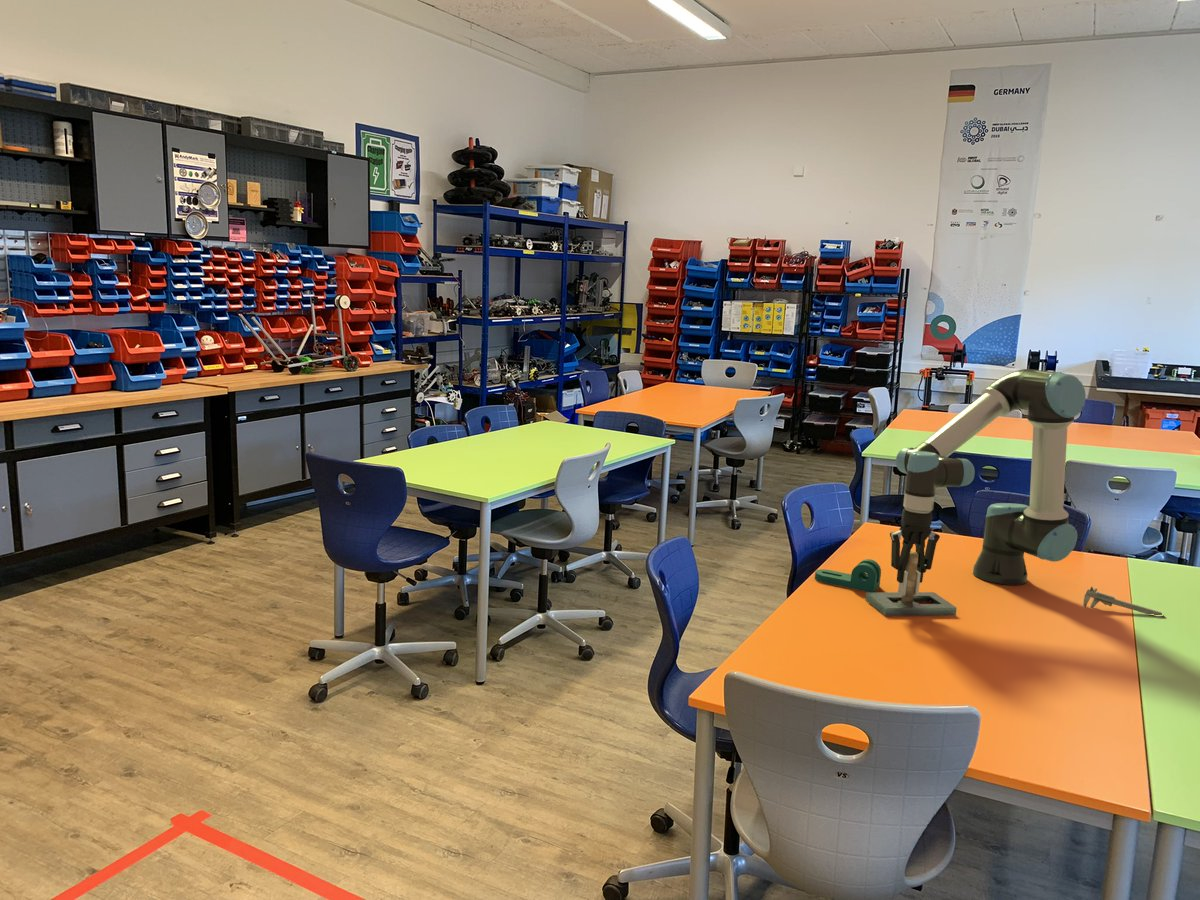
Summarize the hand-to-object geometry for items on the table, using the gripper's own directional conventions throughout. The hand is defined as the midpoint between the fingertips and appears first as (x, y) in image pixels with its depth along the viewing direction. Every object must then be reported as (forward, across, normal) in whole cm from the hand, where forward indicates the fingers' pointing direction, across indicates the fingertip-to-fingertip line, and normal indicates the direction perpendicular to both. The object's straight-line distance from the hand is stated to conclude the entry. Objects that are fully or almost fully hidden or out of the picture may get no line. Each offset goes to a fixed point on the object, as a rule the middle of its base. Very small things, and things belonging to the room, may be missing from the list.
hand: (908, 593), depth 237 cm
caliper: (+4, -62, +4) cm, 62 cm away
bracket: (+4, +9, -20) cm, 22 cm away
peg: (+4, 0, 0) cm, 4 cm away
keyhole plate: (+4, -1, 0) cm, 4 cm away
